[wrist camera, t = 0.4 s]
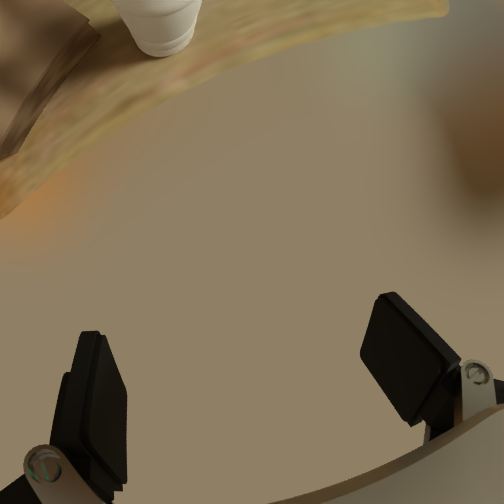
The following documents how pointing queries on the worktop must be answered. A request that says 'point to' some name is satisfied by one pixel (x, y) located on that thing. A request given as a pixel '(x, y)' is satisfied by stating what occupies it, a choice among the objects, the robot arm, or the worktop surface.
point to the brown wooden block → (35, 61)
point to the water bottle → (160, 23)
